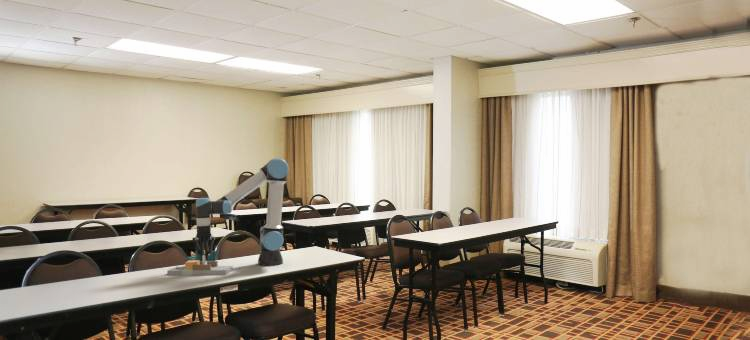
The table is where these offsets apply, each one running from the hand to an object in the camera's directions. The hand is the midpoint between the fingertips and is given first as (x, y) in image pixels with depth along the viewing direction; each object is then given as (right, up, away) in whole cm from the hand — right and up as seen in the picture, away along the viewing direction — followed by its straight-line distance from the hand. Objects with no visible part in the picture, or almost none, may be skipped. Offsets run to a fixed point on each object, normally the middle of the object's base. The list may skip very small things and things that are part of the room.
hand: (204, 266), depth 301 cm
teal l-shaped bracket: (-9, -4, +18) cm, 21 cm away
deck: (-2, -4, 0) cm, 4 cm away
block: (-7, -1, 0) cm, 7 cm away
